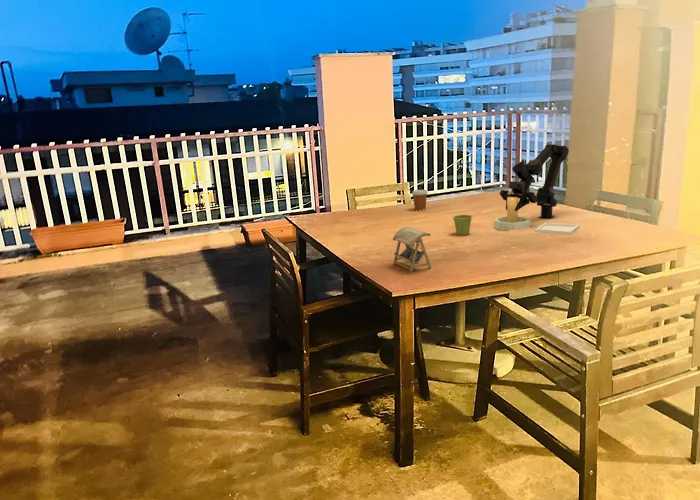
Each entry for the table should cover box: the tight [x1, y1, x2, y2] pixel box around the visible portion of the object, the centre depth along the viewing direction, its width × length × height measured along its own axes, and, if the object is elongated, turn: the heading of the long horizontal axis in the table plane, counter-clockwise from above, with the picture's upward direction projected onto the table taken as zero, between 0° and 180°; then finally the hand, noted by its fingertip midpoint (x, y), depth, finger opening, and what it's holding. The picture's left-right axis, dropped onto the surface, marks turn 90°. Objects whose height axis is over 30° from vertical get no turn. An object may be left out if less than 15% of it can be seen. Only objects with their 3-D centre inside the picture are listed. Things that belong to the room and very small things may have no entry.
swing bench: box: [392, 226, 432, 273], centre depth 213 cm, size 15×10×15 cm, turn 24°
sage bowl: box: [494, 216, 532, 232], centre depth 268 cm, size 16×16×4 cm
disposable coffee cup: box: [411, 189, 429, 211], centre depth 329 cm, size 10×10×12 cm
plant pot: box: [452, 214, 473, 236], centre depth 261 cm, size 9×9×9 cm
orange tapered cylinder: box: [506, 196, 519, 222], centre depth 266 cm, size 5×5×12 cm
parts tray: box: [534, 222, 580, 235], centre depth 255 cm, size 16×16×2 cm
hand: (510, 210), depth 265 cm, fingers closed on orange tapered cylinder, 5 cm apart
